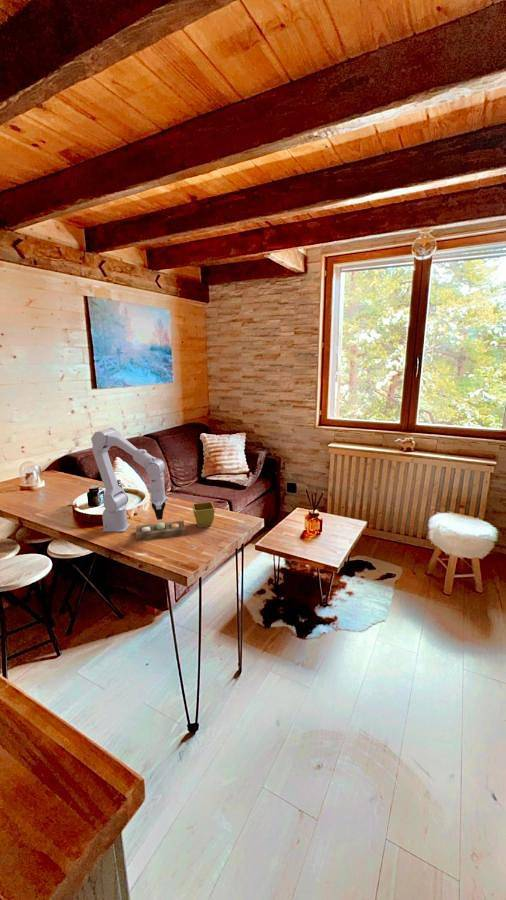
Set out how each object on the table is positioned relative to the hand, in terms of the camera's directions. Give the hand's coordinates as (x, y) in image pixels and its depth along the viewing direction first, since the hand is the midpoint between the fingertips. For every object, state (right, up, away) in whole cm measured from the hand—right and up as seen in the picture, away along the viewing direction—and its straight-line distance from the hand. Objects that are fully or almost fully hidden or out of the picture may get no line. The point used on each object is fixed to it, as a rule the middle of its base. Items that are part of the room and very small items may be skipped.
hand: (159, 519), depth 160 cm
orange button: (+6, -5, +3) cm, 9 cm away
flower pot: (+18, -5, +10) cm, 21 cm away
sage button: (0, -5, +1) cm, 5 cm away
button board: (0, -6, +2) cm, 7 cm away
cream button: (-6, -6, 0) cm, 8 cm away
